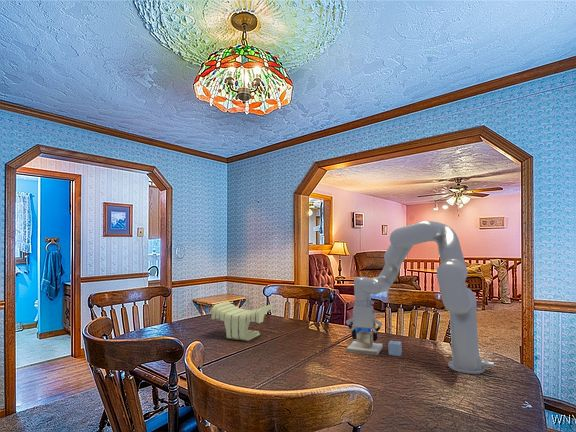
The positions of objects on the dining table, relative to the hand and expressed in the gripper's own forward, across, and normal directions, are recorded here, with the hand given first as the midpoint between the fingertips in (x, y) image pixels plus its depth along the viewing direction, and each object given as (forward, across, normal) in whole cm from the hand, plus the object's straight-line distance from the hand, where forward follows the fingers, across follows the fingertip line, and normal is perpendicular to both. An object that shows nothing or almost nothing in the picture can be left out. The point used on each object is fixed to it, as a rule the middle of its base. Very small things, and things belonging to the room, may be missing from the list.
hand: (364, 339), depth 156 cm
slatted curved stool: (+4, +67, +3) cm, 67 cm away
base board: (+4, 0, 0) cm, 4 cm away
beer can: (+4, +5, -18) cm, 19 cm away
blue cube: (+4, -14, +1) cm, 15 cm away
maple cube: (+3, 0, 0) cm, 3 cm away
